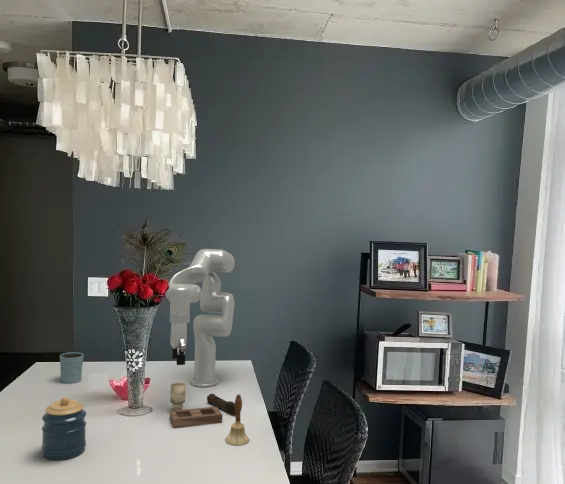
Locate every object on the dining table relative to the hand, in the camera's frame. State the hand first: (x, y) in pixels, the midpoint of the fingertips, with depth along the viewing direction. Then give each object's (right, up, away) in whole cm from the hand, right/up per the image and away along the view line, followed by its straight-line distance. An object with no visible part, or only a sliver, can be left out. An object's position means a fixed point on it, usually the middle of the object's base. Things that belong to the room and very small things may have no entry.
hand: (178, 361), depth 203 cm
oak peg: (-1, -19, +1) cm, 19 cm away
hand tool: (+17, -20, +4) cm, 27 cm away
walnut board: (+8, -20, -9) cm, 24 cm away
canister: (-29, -20, -38) cm, 52 cm away
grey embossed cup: (-55, -17, +32) cm, 66 cm away
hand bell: (+25, -21, -25) cm, 42 cm away
